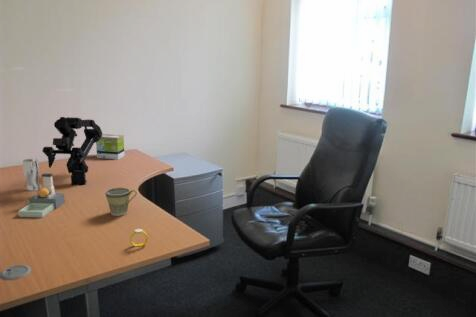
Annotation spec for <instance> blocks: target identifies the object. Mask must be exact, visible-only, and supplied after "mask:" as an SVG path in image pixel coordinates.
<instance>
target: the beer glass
mask: <svg viewBox="0 0 476 317" xmlns="http://www.w3.org/2000/svg"><path fill="white" fill-rule="evenodd" d="M22 169H23V174H24V177H25V180H26V191H28V192H34V191H35V192H36V191H38V190H39V191H40V190H41V186H40V183H39V181H40V180H39V177H40V167H39V160H38V158H28V159H24V160H23V159H22Z"/></svg>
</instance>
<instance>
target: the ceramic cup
mask: <svg viewBox="0 0 476 317" xmlns="http://www.w3.org/2000/svg"><path fill="white" fill-rule="evenodd" d="M134 192H135V195H134V196H132V197H131V198H130V195H131V194H132V193H134ZM137 194H138V193H137V191H136V190H135V189H132V190H131V189H130V188H128V187H113V188H112V187H111V188H108V189H107V190H105V197H106V201H107V204H108V208H109V211H110V214H111V216H115V217H120V216H124V215H126V214H128V209H129V204H130V202H131V201H132V200H133V199H134V198H135V197H136V196H137Z"/></svg>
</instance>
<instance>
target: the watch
mask: <svg viewBox="0 0 476 317" xmlns="http://www.w3.org/2000/svg"><path fill="white" fill-rule="evenodd" d="M135 234H136V235H137V234H138V235H139V234H144V235H145V240H144V242H142V243H136V244H135V242H133V239H132V238H133V237H134V235H135ZM129 238H130V239H129V242H130V243H131V245H132V246H133V247H135V248H136V247H144V246H145V245H146V244H147V242H148V239H149V238H148V234H147V233H146V231H144V230H143V229H142V228H136V229H134V231H133V232H132V233H131V234H130V236H129Z"/></svg>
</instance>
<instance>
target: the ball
mask: <svg viewBox="0 0 476 317" xmlns="http://www.w3.org/2000/svg"><path fill="white" fill-rule="evenodd" d="M38 193H39V195H40V196H41V197H43V198H44V197H47V196H48V195H49V191H48V190H47V189H45V188H43V189H42V188H40V189H39V192H38Z"/></svg>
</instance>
